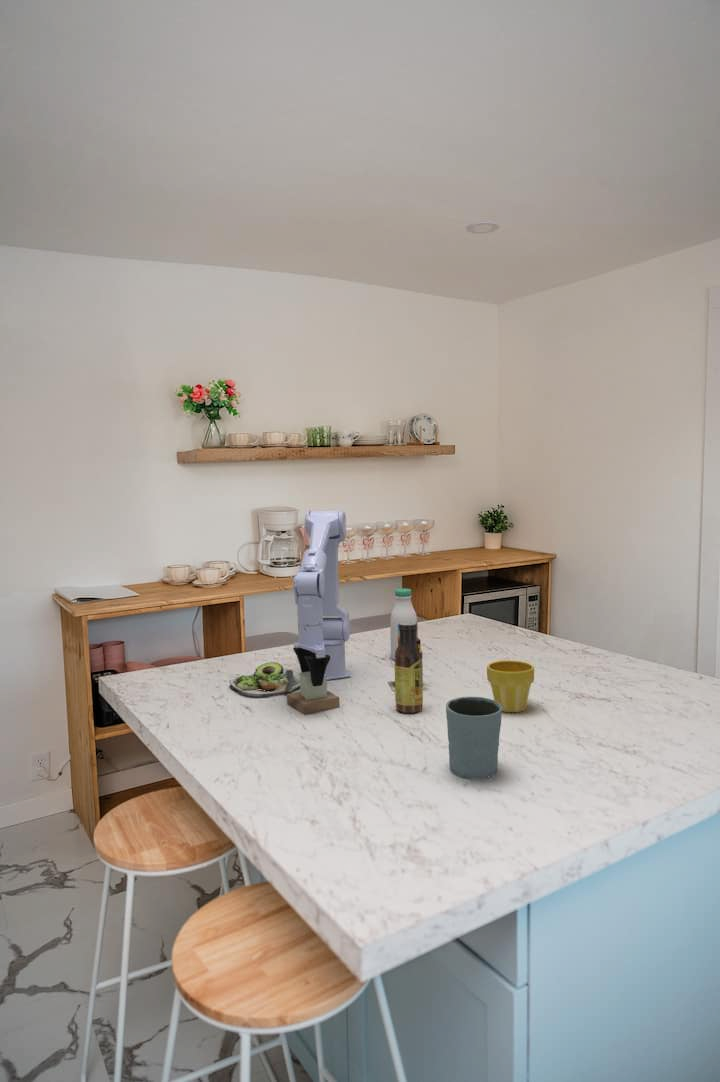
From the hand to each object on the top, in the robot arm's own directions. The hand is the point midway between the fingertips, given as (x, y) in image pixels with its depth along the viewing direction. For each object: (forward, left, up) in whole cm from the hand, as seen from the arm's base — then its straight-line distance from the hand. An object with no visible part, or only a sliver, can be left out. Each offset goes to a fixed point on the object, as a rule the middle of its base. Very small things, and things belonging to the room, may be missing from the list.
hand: (312, 681), depth 168 cm
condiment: (-4, +26, -6) cm, 27 cm away
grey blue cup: (+46, +16, -6) cm, 49 cm away
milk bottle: (-27, +36, -6) cm, 45 cm away
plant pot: (+21, +40, -6) cm, 46 cm away
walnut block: (0, 0, -6) cm, 6 cm away
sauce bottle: (+12, +19, -6) cm, 23 cm away
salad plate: (-20, -6, -6) cm, 22 cm away
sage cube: (0, 0, -3) cm, 3 cm away
